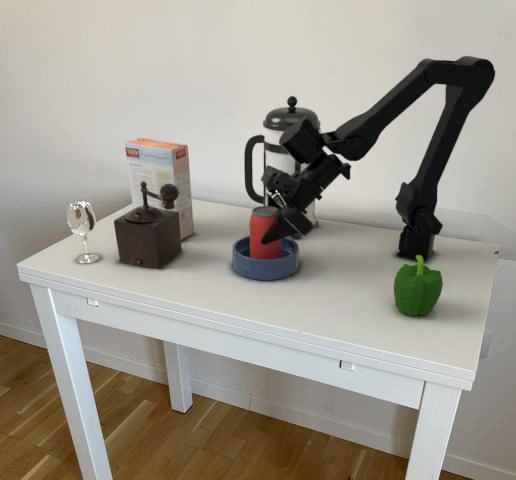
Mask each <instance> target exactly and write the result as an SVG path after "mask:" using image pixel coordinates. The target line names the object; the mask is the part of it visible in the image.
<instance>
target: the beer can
mask: <svg viewBox="0 0 516 480" xmlns="http://www.w3.org/2000/svg"><path fill="white" fill-rule="evenodd" d="M276 210H278V211H279V209H277V208H275V207H271V206H264V205H261V206H256V207H254V208H252V210H251V215H250V218H249V236H250V258H254V259H278V258H281V239H279V240H276V241H273V242H271V243H268V244H265V245H263V244H262V243H261V239H262V238H263V236H264V235H265V233H266V232H267V231H268V230H269V228H270V227H271V226H272V224H273V223H274V222H275V220H276Z"/></svg>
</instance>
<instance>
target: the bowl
mask: <svg viewBox="0 0 516 480" xmlns="http://www.w3.org/2000/svg"><path fill="white" fill-rule="evenodd" d="M231 250H232V269H233V270H234V272H236V273H237V274H239V275H240V276H242V277H245V278H249V279H252V280H259V281H271V280H279V279H283V278H286V277H289V276H292V275H293V274H294V273H296V272H297V270H298V268H299V257H300V248H299V244H298V243H297V241H295V239H293V238H290V237H289V236H287V237H284V238H281V258H278V259H254V258H250V235H247V236H244V237H241V238H240V239H238V240H237V239H236V240H235V242H234V243H233V244H232V248H231Z"/></svg>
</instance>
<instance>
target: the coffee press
mask: <svg viewBox="0 0 516 480" xmlns="http://www.w3.org/2000/svg"><path fill="white" fill-rule="evenodd" d="M298 102H299V101H298V99H297V97H296V96H294V95H290V96H289V97H288V98H287V100H286V104H287V106H284V107H278V108H277V107H276V108H274V109H271V110H270V111H269V112H267V114H265V117H264V119H263V121H262V126H263V129H264V135H263V134H257V135H253V136H251V137H250V138H248V140H247V142H246V143H245V147H244V153H243V154H244V156H243V157H244V158H243V163H244V165H243V166H244V186H245V191H246V193H247V196H248V197H249V198H250V199H251V200H252V201H254V202H255V203H257V204H261V205H263V206H267V196H266V194H267V193H268V194H269V195H270V194H271V193H270V192H269V191H268V190H267V189H266V186H264V185H263V195H261V194H258V193H257V192H256V190H255V188H254V184H253V182H254V181H253V180H254V179H253V176H254V175H253V173H254V172H253V171H254V170H253V151H254V148H255V146H256V145H257V144H263V172H264V171H265V169H266V167H267V165H269V166H272V167H274V168H276V169H278V170H282V171H283V172H285V173H288V174H289V175H292V174H293V173H294V172H297V171H299V172H300V173H301V172H302V171H303V170H304V169H305V168H306V167H307V166H308V165H309V164H306V163H304V164H298V163H297V162H296V161H295V160H294V159H293V158H292V156H291V155H290V154H289V153H288V152H287V151H286V150H285V149H284V148H283V147H282V146H281V145H280V144H279V139H280V137H281V136H282V134H283V133H284V131H285V130H286V129H287V128H288V127H289V126H290V127H291V126H292V125H293V124H294V123H296V122H297V121H300V120H301V119H302V118H303V117H304V116H305V117H306V118H308V119H309V120H310V122H311V123H312V125H313V126H314V128H315V129H316V130H317V131H318V132H319V133H320V134H321V133H323V131H322V128H321V124H322V123H321V120H319V116H318V114H317V113H316V112H315V111H313V110H312V109H309V108H305V107H301V106H300V107H299V106H298V107H297V104H298ZM315 206H316V199H315V200H314V201H313V202H312V203H311V204H310V205H309V206H308V207H307V208H306V211H307V212H308V213H307V214H306V216H307V217H308V218H309V219H310V221H311V222H312V228H313V227H314V228H317V227H318V226H319V221H318V220H317V219H316V217H315V209H316V208H315ZM314 220H315V223H314V224H313V222H314ZM291 237H292V240H295V239H300V234H294V235H291Z"/></svg>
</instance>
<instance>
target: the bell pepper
mask: <svg viewBox="0 0 516 480" xmlns="http://www.w3.org/2000/svg"><path fill="white" fill-rule="evenodd" d="M416 259H417V260H418V261H417V264H412V265H411V264H408V263H404V264H403V265H402V266H401V267H400V268H399V270H398V271H397V273H396V276H395V277H394V280H393V294H394V295H393V296H394V302H395V307H396V309H397V310H398V312H400V313H401V314H402V315H405V316H409V317H417V315H420V316H427V315H428V314H430V313H431V312H432V311H433V310H434V308H435V306H436V305H437V304H438V301H439V299H440V296H441V295H442V291H443V285H444V284H443V283H444V282H443V276H442V272H441V270H436V269H430V268H429V267H428V266H427V265H425V262H423V257H422V256H421V255H417V256H416Z"/></svg>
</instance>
